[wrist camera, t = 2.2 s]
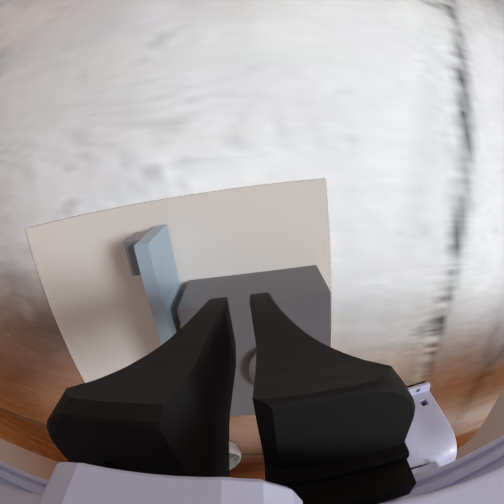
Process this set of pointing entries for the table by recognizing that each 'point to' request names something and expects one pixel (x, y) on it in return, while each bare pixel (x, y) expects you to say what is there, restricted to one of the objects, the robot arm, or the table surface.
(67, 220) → the mat
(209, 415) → the robot arm
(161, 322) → the side door
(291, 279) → the camera housing
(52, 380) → the table surface
